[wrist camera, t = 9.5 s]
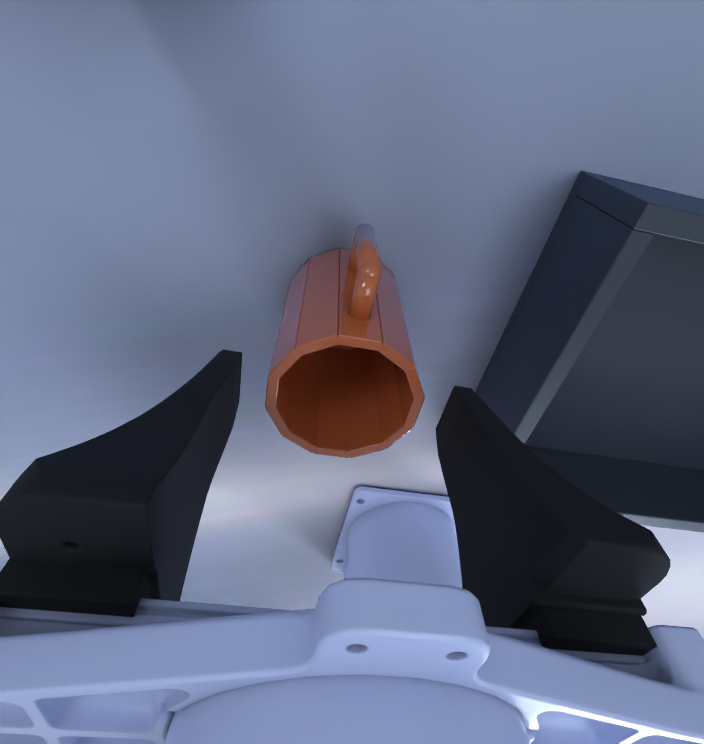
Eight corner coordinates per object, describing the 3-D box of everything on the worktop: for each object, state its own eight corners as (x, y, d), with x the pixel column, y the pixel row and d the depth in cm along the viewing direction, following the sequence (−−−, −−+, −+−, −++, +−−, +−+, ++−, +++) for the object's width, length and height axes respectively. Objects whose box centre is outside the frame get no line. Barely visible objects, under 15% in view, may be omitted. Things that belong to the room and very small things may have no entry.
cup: (384, 356, 21) (399, 464, 16) (283, 340, 21) (260, 447, 15) (424, 220, 17) (464, 299, 12) (301, 195, 17) (279, 265, 11)
